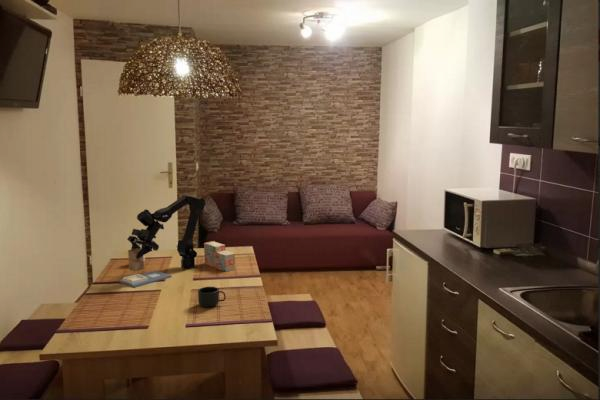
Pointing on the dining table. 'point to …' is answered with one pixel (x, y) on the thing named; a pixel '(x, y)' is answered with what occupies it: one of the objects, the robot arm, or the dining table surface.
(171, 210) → the robot arm
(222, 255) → the stack of blocks
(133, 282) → the board
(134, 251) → the pillar
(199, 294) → the mug
